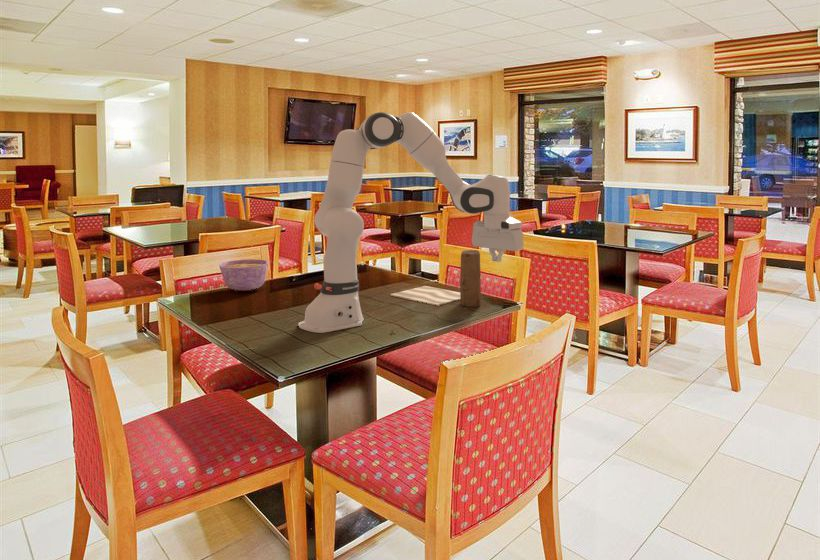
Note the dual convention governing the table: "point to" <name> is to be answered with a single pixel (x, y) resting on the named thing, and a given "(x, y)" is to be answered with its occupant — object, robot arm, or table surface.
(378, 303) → the table surface
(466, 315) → the table surface
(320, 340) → the table surface
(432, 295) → the board
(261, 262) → the bowl of food
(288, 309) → the table surface
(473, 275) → the block
